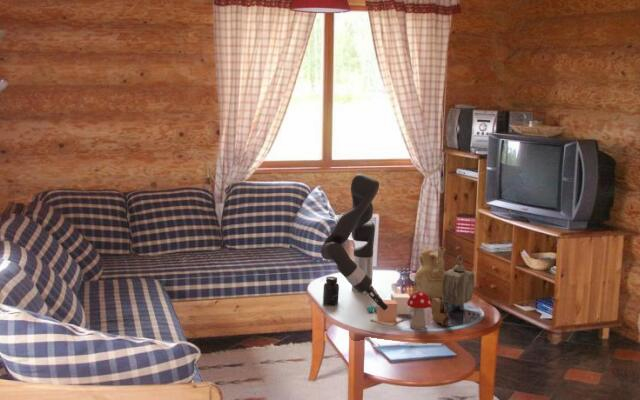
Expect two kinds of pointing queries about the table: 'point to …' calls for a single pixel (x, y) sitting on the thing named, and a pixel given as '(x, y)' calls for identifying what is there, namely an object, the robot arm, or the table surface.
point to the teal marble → (370, 308)
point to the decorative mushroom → (419, 309)
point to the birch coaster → (387, 321)
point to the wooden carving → (439, 311)
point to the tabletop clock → (457, 285)
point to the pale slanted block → (401, 303)
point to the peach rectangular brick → (387, 311)
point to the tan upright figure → (431, 273)
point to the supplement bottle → (331, 291)
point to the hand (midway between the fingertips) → (384, 305)
